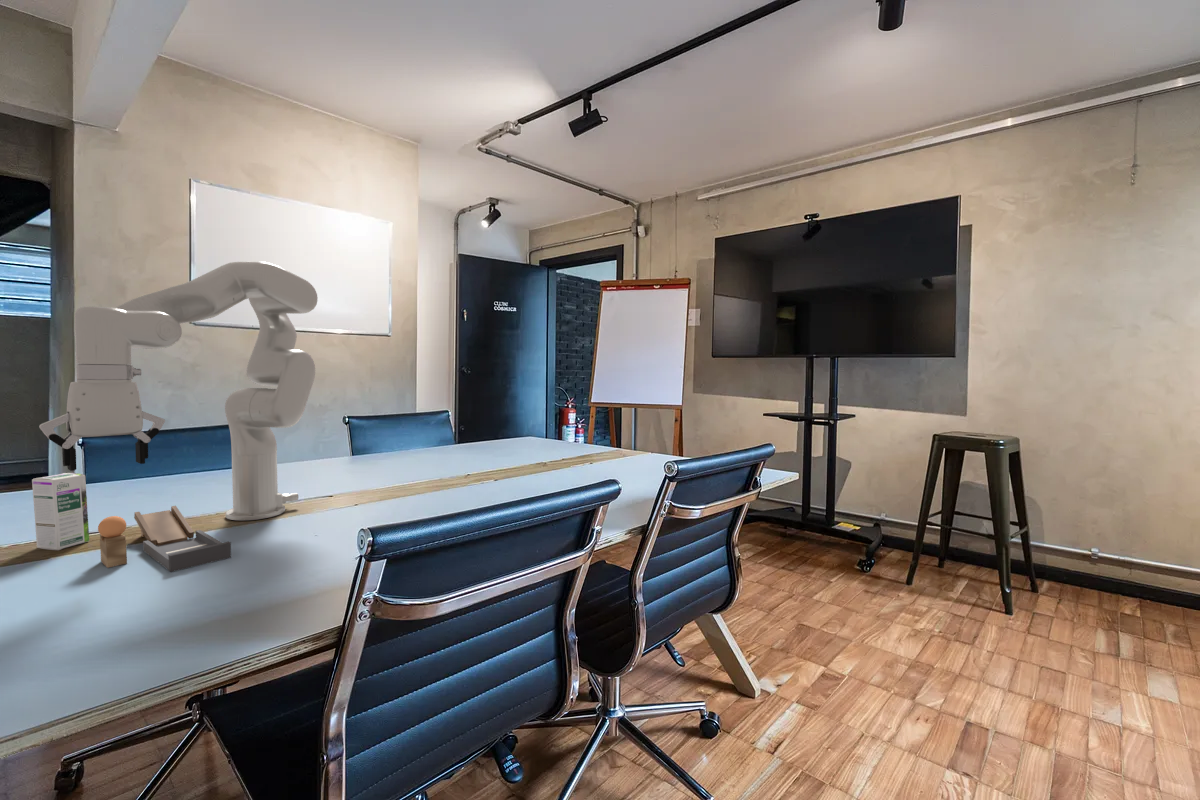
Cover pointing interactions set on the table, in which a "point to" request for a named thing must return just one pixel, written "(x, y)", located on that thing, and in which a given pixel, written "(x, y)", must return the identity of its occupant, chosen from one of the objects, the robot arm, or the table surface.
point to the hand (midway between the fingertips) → (107, 466)
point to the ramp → (164, 526)
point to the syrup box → (60, 511)
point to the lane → (188, 552)
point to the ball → (112, 526)
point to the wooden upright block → (113, 550)
